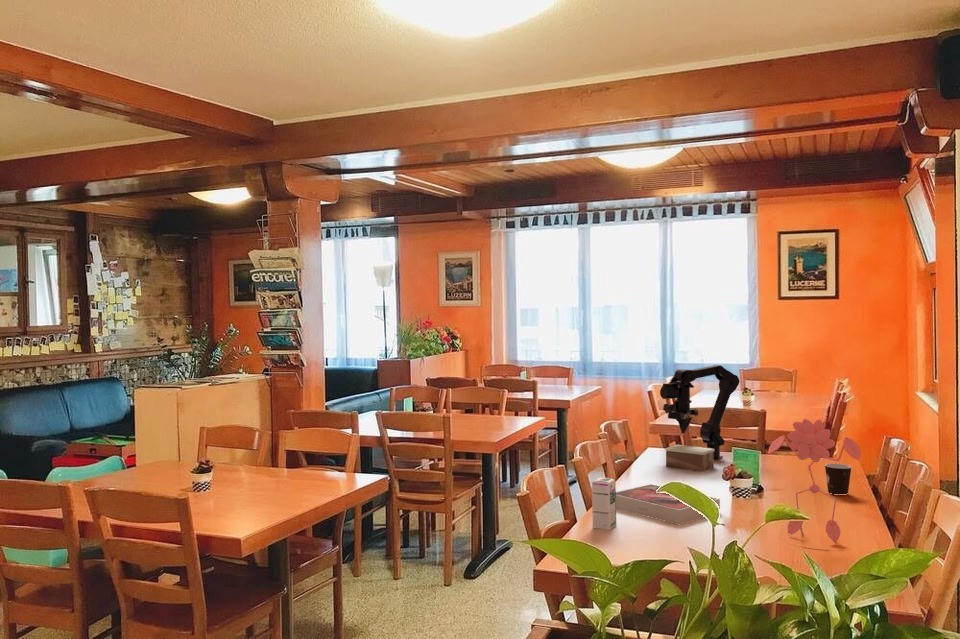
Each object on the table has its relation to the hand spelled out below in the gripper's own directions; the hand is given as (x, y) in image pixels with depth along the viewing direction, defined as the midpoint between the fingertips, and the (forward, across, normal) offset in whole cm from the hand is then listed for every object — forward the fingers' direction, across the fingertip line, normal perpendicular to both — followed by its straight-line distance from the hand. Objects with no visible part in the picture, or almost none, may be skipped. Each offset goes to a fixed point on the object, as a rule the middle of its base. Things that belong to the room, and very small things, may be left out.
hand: (683, 433), depth 333 cm
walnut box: (+12, +11, +8) cm, 18 cm away
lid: (+5, +11, +8) cm, 15 cm away
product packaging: (+13, +83, +31) cm, 90 cm away
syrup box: (+12, +113, +26) cm, 117 cm away
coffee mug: (+12, +25, +70) cm, 75 cm away
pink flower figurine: (+12, +89, +79) cm, 120 cm away
